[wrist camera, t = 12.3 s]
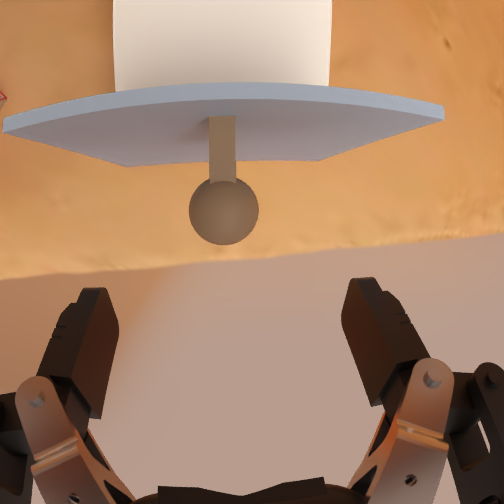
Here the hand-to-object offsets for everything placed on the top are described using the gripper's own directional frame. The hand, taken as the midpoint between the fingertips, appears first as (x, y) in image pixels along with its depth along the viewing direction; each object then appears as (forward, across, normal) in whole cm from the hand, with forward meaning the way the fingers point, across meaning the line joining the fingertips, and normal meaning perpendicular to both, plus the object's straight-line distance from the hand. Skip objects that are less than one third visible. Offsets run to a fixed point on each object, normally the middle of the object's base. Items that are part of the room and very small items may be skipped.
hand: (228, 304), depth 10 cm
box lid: (+11, 0, -3) cm, 12 cm away
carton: (+30, 0, -9) cm, 31 cm away
